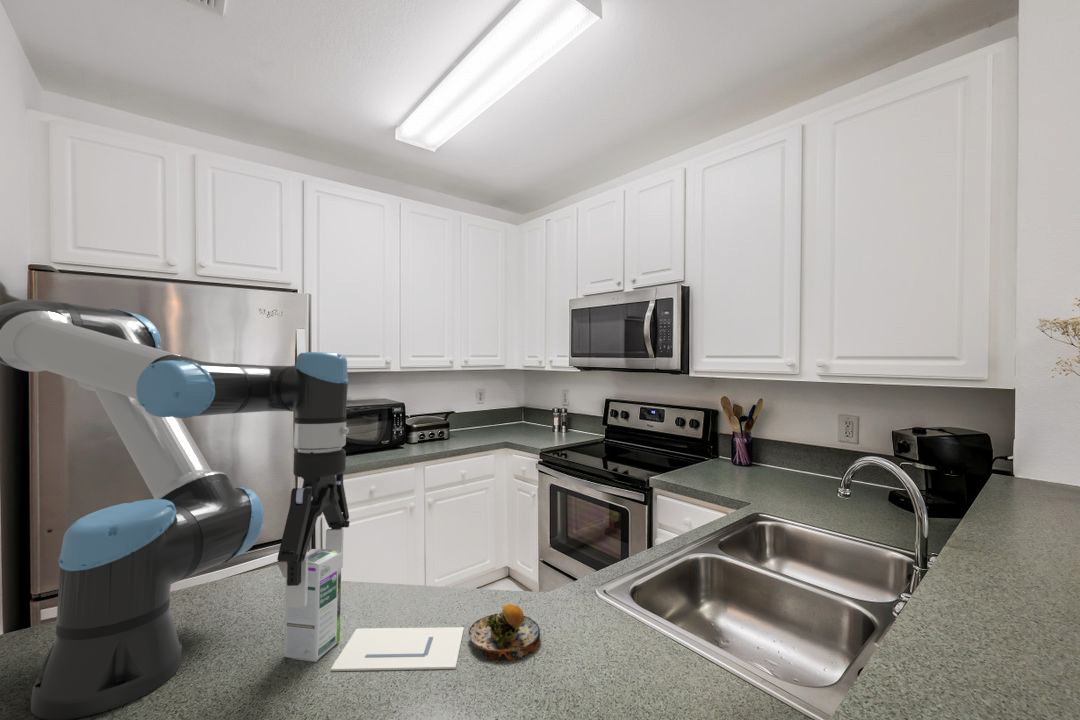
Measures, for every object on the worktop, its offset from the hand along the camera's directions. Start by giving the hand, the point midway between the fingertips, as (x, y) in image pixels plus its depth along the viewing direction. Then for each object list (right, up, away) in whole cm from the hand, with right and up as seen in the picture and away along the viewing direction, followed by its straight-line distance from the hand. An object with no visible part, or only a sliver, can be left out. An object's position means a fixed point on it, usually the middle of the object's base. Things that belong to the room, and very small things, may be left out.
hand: (316, 585), depth 72 cm
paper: (+13, -10, 0) cm, 17 cm away
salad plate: (+29, -11, +3) cm, 31 cm away
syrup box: (0, -10, 0) cm, 10 cm away
